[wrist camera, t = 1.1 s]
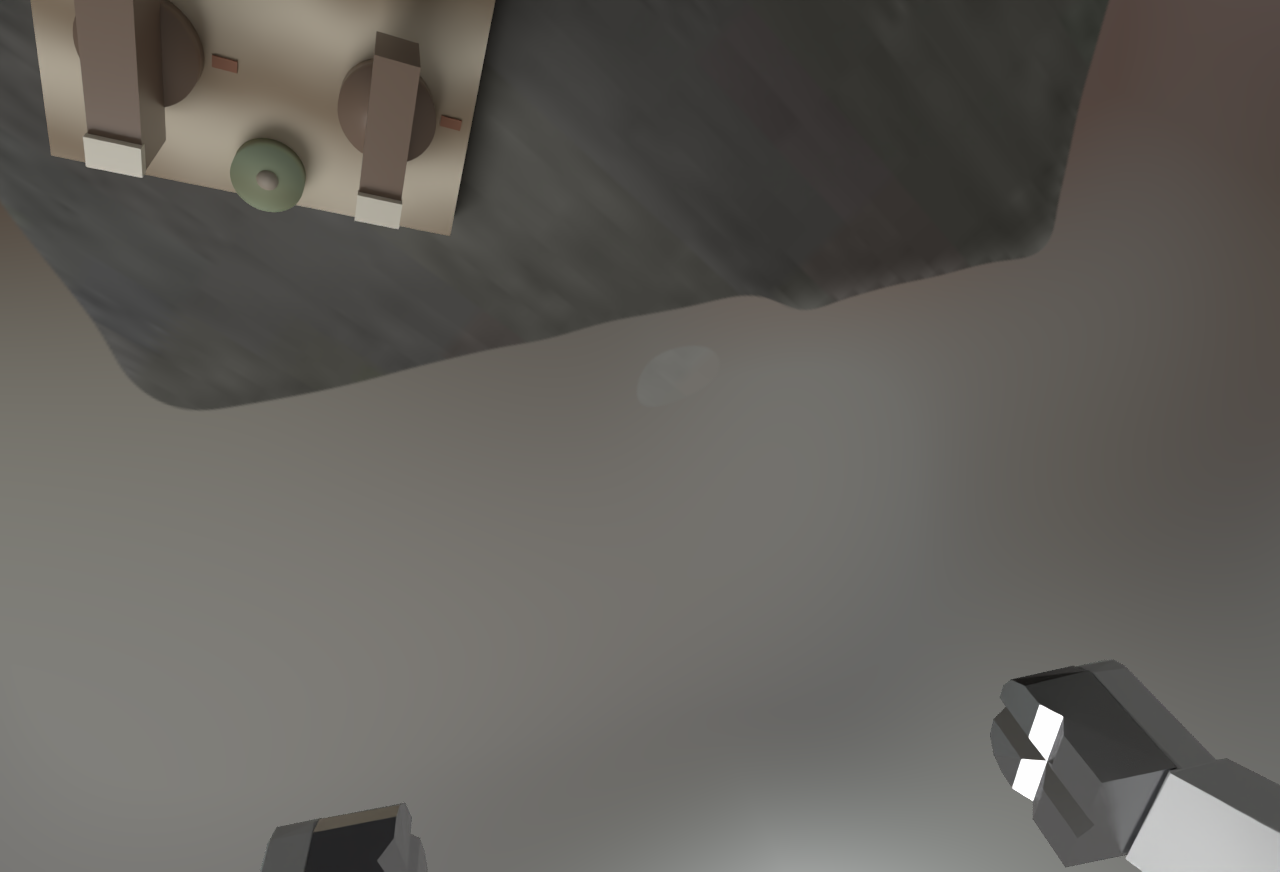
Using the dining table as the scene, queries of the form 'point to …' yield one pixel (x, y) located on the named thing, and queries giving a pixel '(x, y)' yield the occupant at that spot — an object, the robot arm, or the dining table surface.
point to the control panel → (290, 98)
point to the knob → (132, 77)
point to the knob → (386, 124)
